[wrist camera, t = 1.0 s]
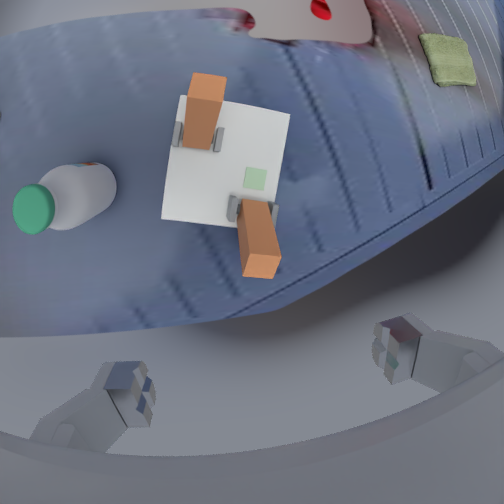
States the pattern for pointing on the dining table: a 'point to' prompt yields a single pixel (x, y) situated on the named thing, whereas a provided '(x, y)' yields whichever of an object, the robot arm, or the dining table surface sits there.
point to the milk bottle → (64, 197)
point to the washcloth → (448, 60)
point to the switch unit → (225, 166)
